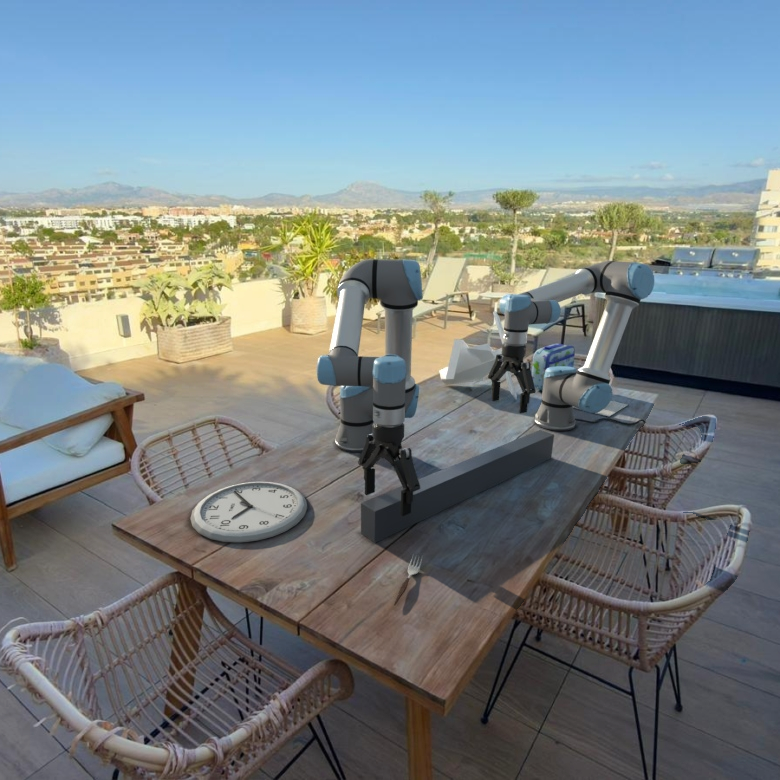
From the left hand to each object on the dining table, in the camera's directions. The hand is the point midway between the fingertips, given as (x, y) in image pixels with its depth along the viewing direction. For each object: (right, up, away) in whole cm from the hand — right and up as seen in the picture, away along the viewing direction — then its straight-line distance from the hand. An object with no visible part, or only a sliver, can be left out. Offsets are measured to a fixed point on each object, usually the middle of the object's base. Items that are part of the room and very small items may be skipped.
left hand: (387, 503), depth 129 cm
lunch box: (+78, +29, +122) cm, 148 cm away
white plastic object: (+42, +27, +114) cm, 124 cm away
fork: (+4, -14, -18) cm, 22 cm away
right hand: (+40, +23, +44) cm, 64 cm away
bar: (+24, -1, +23) cm, 33 cm away
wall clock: (-37, -4, +10) cm, 38 cm away
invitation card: (+92, +21, +97) cm, 135 cm away
